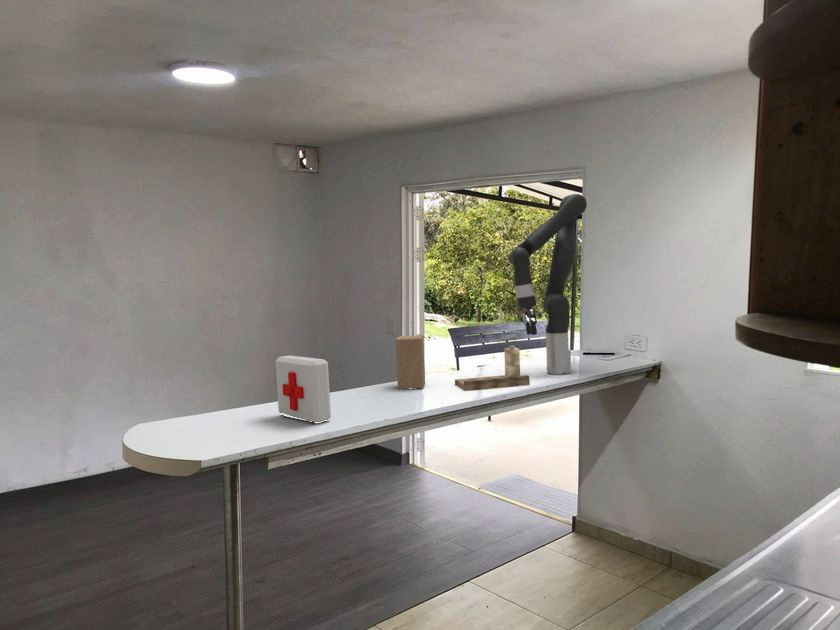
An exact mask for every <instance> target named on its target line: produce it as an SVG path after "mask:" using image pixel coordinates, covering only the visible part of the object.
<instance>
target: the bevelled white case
mask: <svg viewBox="0 0 840 630" xmlns="http://www.w3.org/2000/svg"><path fill="white" fill-rule="evenodd" d="M275 371H276V373H275V374H276V387H277V388H276V390H277V391H276V392H277V405H278V408H277V409H278V413H279V412H280V413H284V414H287V415H290V416H293V417H297V418H301V419H305V420H308V421H312V422H321V421H324V420H328V419H329V420H330V419H331V418H332V411H331V393H330V380H329V379H330V378H329V377H330V376H329V362H328V361H327V360H325V359H322V358H316V357H315V358H314V357H308V356H307V357H306V356H297V355H284V356H283V355H282V356H278V357H277V359H276V360H275ZM329 420H328V421H329Z"/></svg>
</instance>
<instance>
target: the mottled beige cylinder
mask: <svg viewBox="0 0 840 630" xmlns="http://www.w3.org/2000/svg"><path fill="white" fill-rule="evenodd" d="M503 349H504V373H505V374H504V375H505V377H512V376H521V360H520V359H521V358H520V357H521V356H520V352H521V351H520V348H517V347H515V345H508V347H505V348H503Z"/></svg>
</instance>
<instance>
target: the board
mask: <svg viewBox="0 0 840 630" xmlns="http://www.w3.org/2000/svg"><path fill="white" fill-rule="evenodd" d="M454 385H455V386H456V385H457V387H458V386H459V387H458V388H460V389H462V390H463V389H464V390H463V391H465V392H467V390H469V391H479V390H490V389H499V388H501V389H502V388H510V387H520V386H519V385H523V386H530V385H531V383H530V375H527V374H526V375H525V374H524V375H520V376H512V377H505V374H503V375H491V376H490V375H489V376H483V377H481V376H480V377H470V378H469V377H468V378H458V379H454Z"/></svg>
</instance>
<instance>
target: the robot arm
mask: <svg viewBox="0 0 840 630" xmlns="http://www.w3.org/2000/svg"><path fill="white" fill-rule="evenodd" d="M587 204H588V202H587V199H586V197H584V195H582V194H579V193H572V194H569V195H566V196H564V197H562V199H561V201H560V203H559V206H558V207H559V209H558V211H556V213H555V214H553V215H552V216H551V217H550V218H549V219H547V220H545V222H543V223H542V224H541V225H539V226H538V227H537V228H536V229H534V230H533V231H532V232H531V233H530V234H529V235H528V236H527V237H526V238H525V239H524V241H522V242H521V243H519V244H518V245H517V246H516V247H515V248H513V250H511V251H510V253H509V256H508V259H509V262H510V264H511V265H513V270H514V273H513V282H514V288H515V297H516V302H517V308H518V309H522V310H521V316H522V323H523V325H524V326H525V331H526V335H532V336H536V335H537V334H538V331H537V324H538V320H537V316H536V309H534V308H533V307H536V306H537V302H536V301H537V300H536V295H535V289H534V285H533V281H532V276H531V262H530V261H531V260H530V257H531V256H532V255H533V254H534V253H536V252H537V251H539V250H540V249H541V248H543V246H544V245H545V244H547V243H548V242H549V240H551V239H552V238H553V237H554V236H555V235H556V236H555V240H554V246H553V251H552V257H551V263H550V264H551V265H550V270H549V276H548V283H547V287H546V290H545V294H544V298H543V302H542V308H543V311H544V312H545V314H547V318H548V319H547V324H546V325H545V345H546V353H545V354H546V373H547V374H548V373H550V374H549V375H564V374H563V373H567V374H569V373H568V372H571V373H572V356H571V355H572V352H571V349H569V348H570V347H569V327H570V324H571V323H570V321H571V316H570V313H571V312H570V311H571V310H570V309H571V308H570V307H571V306H570V301H569V300H568V298H567V297H566V296H565V295H564V293H565V287H566V282H567V281H568V278H569V277H570V273H571V272H572V269H573V267H574V264H575V263H574V262H575V259H576V252H577V251H576V250H577V246H576V245H577V244H576V235H575V231H576V230H575V228H576V227H575V226H576V222H577V219H578V217H579V216H581V215H582V214H583V213H584V212H585V211H586V208H587V207H588V205H587Z"/></svg>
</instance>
